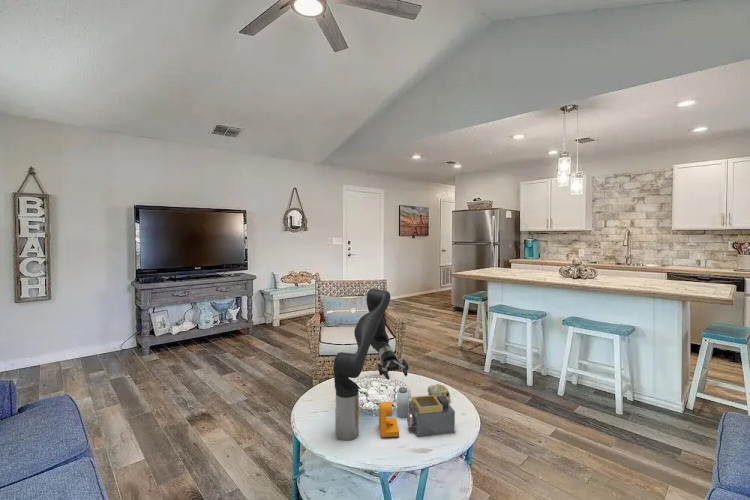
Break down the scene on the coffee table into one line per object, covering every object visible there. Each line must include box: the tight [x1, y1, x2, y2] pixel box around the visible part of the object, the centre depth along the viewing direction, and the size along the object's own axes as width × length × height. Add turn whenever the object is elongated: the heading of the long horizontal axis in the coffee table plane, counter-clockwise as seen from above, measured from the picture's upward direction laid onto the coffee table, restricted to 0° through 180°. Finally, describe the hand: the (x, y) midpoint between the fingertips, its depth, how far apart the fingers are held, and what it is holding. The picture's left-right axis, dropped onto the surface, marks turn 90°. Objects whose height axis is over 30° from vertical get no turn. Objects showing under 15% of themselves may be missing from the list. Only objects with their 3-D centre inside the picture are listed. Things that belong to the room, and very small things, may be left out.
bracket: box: [378, 401, 400, 438], centre depth 148 cm, size 11×7×12 cm, turn 4°
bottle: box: [396, 386, 410, 419], centre depth 160 cm, size 5×5×12 cm
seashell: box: [427, 383, 451, 405], centre depth 175 cm, size 10×10×10 cm
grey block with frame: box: [406, 394, 456, 438], centre depth 150 cm, size 18×11×12 cm, turn 101°
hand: (397, 376), depth 166 cm, fingers open, 8 cm apart
